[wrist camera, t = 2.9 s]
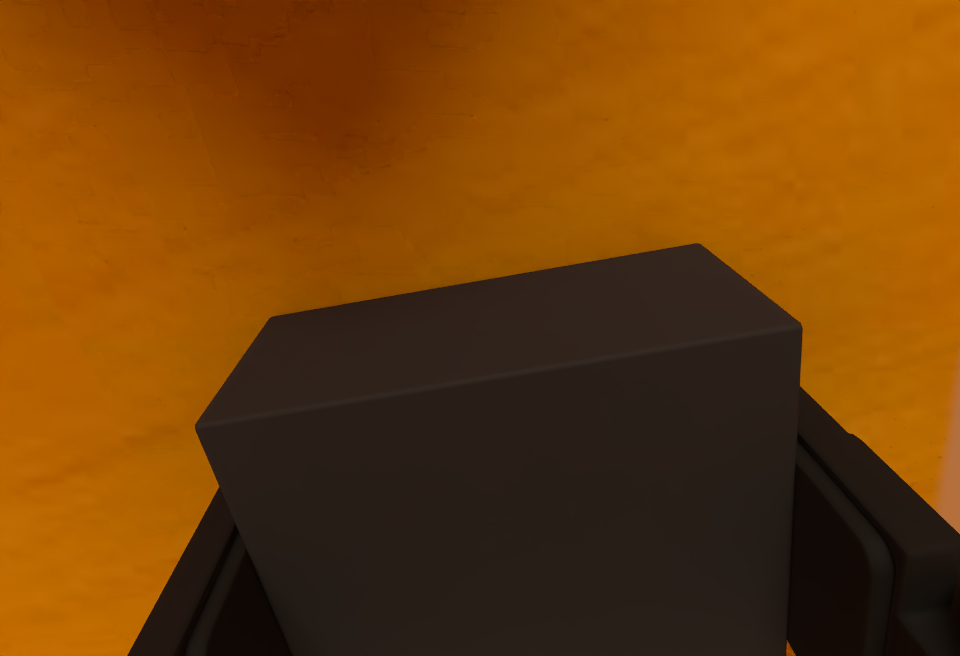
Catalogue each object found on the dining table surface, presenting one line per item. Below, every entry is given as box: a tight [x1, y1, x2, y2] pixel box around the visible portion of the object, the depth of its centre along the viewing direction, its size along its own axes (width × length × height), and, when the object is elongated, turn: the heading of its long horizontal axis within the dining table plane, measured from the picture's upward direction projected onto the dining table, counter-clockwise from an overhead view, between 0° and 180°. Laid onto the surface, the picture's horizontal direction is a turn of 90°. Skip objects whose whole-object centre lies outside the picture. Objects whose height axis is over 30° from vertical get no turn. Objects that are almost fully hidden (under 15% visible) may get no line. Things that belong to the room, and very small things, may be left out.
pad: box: [195, 243, 803, 656], centre depth 9 cm, size 6×6×3 cm
